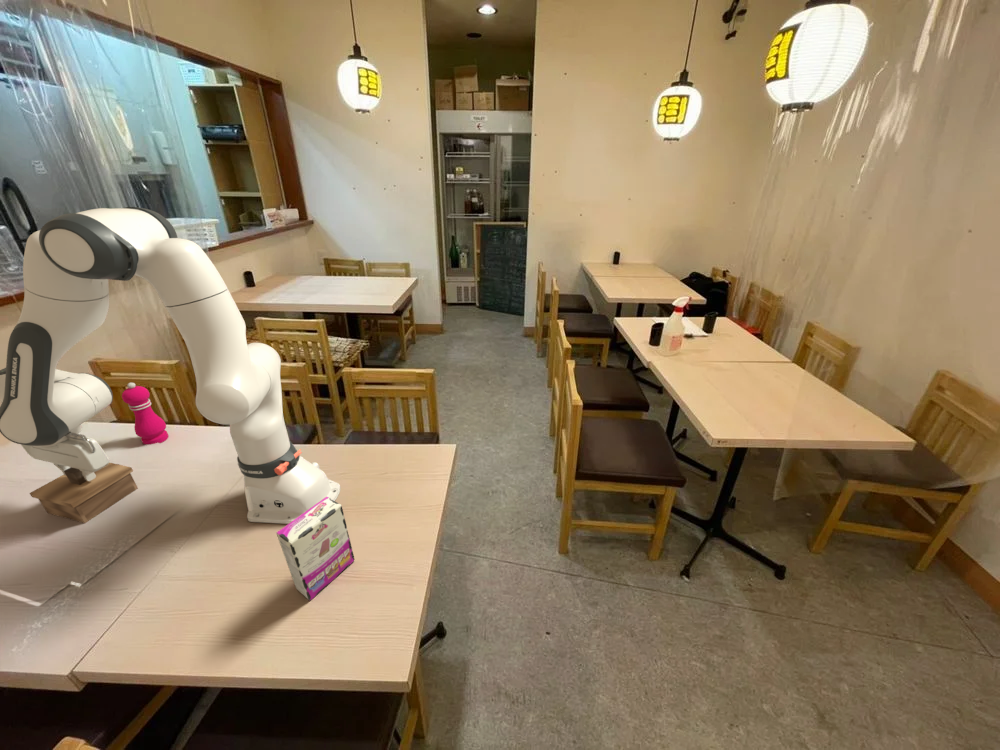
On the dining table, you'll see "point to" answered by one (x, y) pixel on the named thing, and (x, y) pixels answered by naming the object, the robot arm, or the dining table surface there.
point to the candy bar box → (316, 547)
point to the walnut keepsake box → (94, 501)
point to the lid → (79, 485)
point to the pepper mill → (144, 415)
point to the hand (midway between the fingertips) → (80, 476)
